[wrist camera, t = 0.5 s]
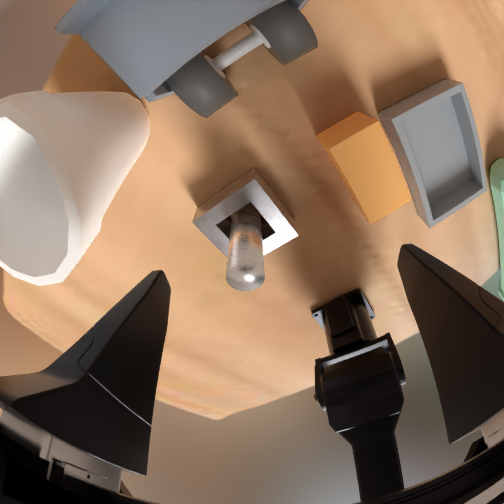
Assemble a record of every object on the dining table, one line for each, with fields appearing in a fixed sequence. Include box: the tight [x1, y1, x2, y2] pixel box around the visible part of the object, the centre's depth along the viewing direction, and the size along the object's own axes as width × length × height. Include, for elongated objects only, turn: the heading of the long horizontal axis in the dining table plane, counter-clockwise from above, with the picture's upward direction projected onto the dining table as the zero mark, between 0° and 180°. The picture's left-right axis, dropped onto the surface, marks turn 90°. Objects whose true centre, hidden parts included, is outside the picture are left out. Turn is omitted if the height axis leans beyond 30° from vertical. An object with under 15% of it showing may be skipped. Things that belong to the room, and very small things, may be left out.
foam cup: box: [0, 90, 150, 286], centre depth 13 cm, size 10×9×13 cm
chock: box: [316, 111, 411, 224], centre depth 19 cm, size 7×4×4 cm, turn 36°
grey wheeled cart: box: [55, 0, 318, 118], centre depth 10 cm, size 9×10×10 cm
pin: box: [226, 202, 265, 291], centre depth 20 cm, size 2×2×8 cm
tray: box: [377, 79, 487, 228], centre depth 18 cm, size 11×8×2 cm
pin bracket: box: [192, 168, 298, 258], centre depth 22 cm, size 6×6×2 cm
